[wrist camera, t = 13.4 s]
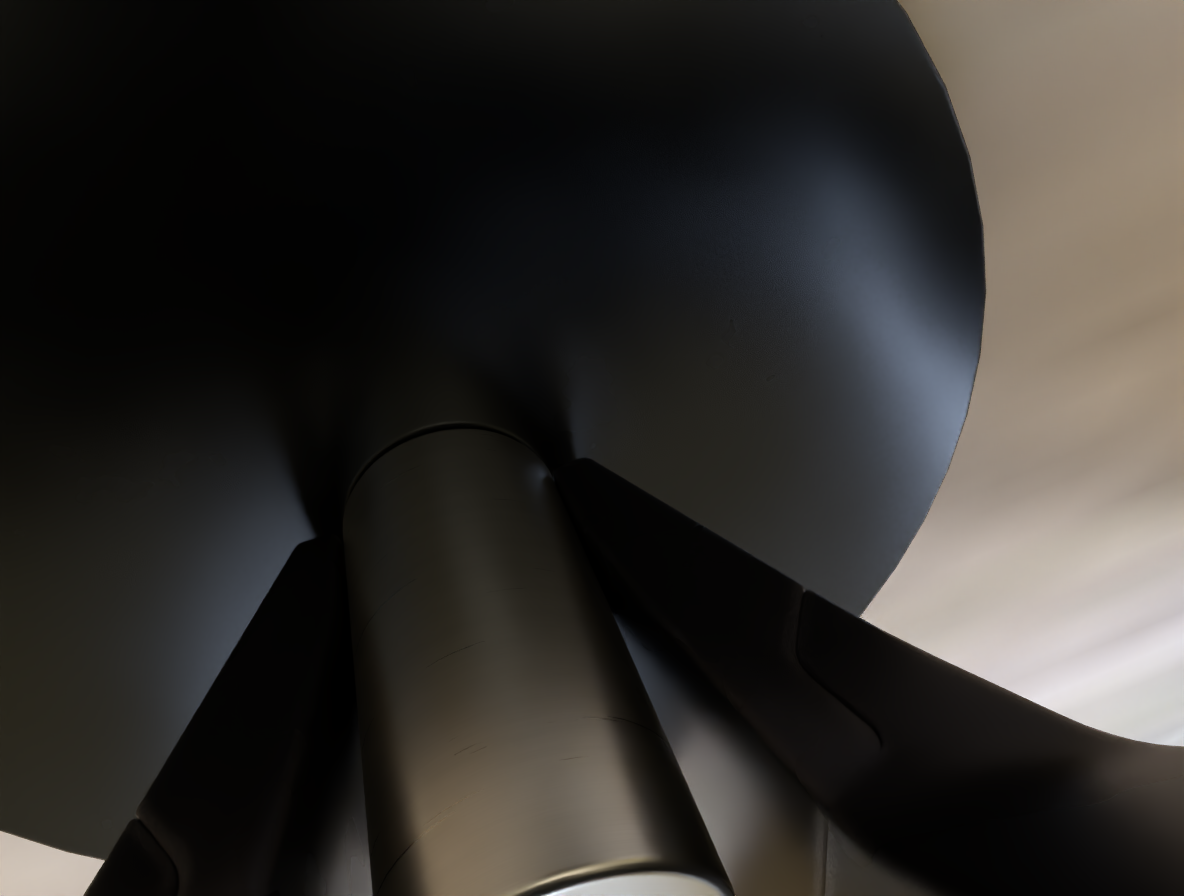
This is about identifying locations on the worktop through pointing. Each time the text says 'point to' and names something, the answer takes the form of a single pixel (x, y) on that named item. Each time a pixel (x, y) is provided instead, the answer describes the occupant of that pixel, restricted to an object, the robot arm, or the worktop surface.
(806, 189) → the tin lid
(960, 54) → the worktop surface
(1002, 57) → the worktop surface
